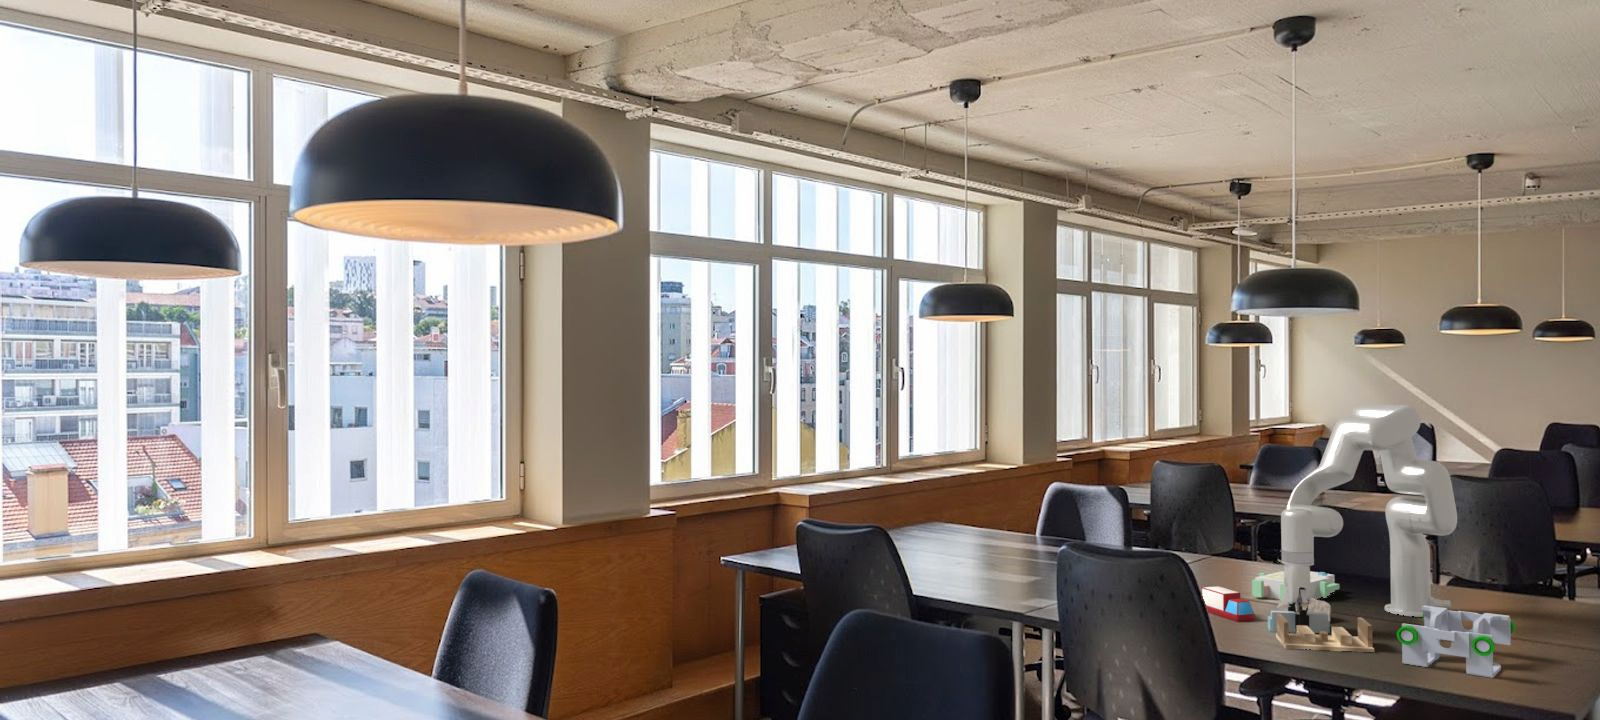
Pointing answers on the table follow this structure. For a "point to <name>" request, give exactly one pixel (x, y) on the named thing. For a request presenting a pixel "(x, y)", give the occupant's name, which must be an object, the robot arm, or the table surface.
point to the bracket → (1456, 639)
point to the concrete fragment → (1309, 606)
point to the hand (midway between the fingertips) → (1298, 626)
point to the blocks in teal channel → (1316, 621)
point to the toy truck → (1227, 604)
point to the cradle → (1325, 637)
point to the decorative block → (1275, 585)
